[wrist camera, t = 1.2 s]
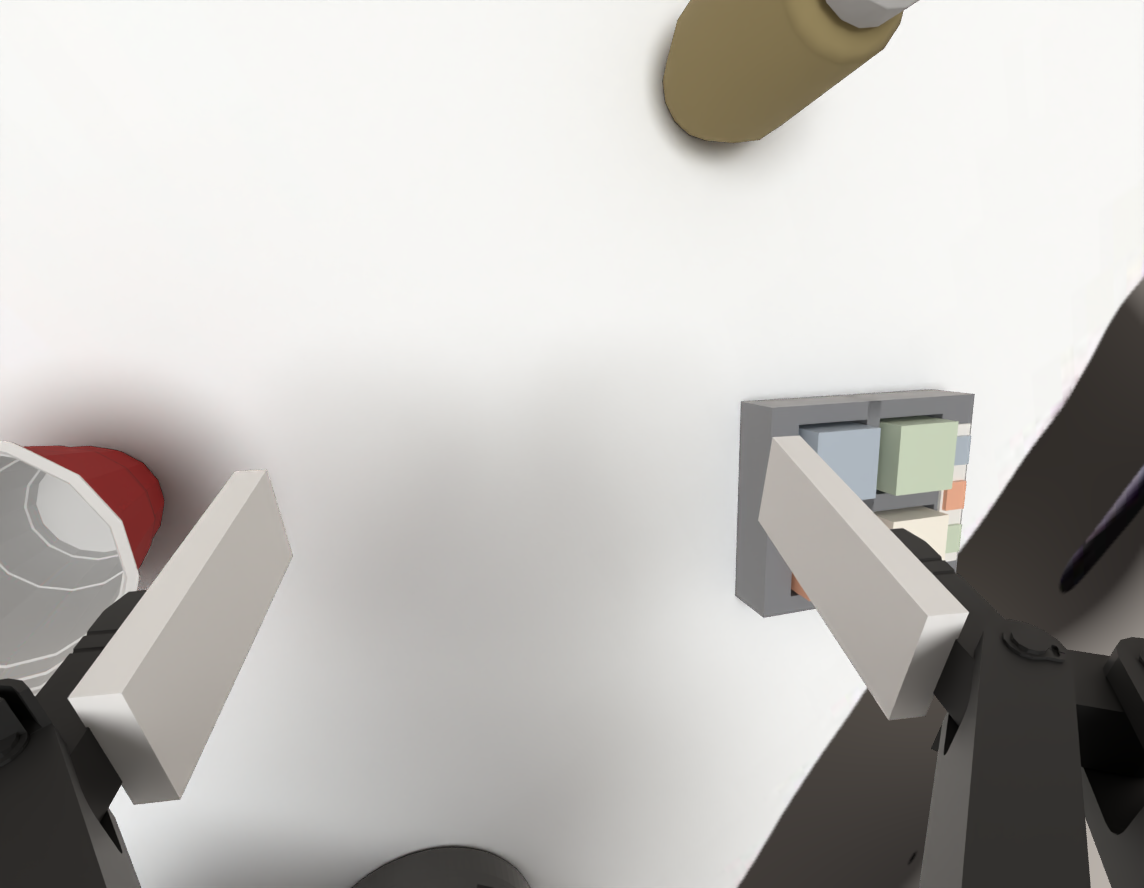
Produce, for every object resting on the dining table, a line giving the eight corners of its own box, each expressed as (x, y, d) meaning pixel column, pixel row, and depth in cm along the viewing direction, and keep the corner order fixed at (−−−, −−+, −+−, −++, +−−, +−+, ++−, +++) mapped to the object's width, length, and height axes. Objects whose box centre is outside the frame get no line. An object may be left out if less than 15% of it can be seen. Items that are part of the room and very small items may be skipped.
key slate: (842, 486, 41) (875, 498, 38) (785, 493, 40) (814, 505, 37) (846, 421, 40) (881, 427, 37) (788, 425, 39) (818, 432, 36)
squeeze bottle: (760, 166, 37) (1061, 29, 20) (641, 154, 35) (867, -12, 18) (770, 24, 36) (1102, -252, 19) (646, 2, 34) (896, -333, 17)
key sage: (915, 478, 43) (951, 489, 40) (861, 484, 42) (895, 495, 39) (920, 415, 42) (958, 421, 39) (866, 419, 41) (901, 426, 38)
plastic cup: (259, 547, 33) (188, 658, 22) (52, 631, 31) (-147, 802, 20) (162, 363, 30) (22, 382, 19) (-75, 443, 28) (-390, 517, 17)
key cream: (907, 562, 44) (942, 578, 41) (855, 570, 43) (888, 587, 40) (912, 502, 43) (948, 514, 40) (860, 509, 42) (893, 522, 39)
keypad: (915, 566, 47) (960, 586, 43) (735, 595, 43) (768, 621, 39) (931, 389, 44) (981, 394, 41) (741, 401, 40) (777, 408, 36)
